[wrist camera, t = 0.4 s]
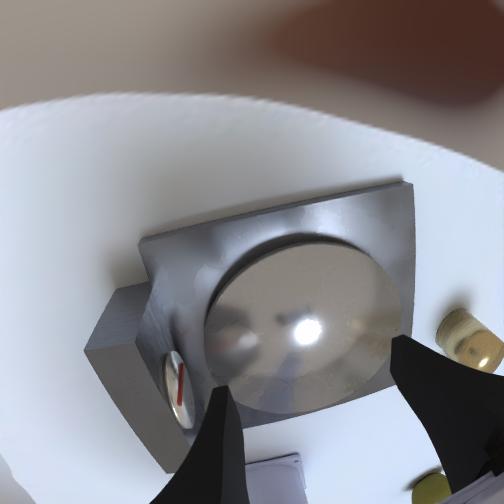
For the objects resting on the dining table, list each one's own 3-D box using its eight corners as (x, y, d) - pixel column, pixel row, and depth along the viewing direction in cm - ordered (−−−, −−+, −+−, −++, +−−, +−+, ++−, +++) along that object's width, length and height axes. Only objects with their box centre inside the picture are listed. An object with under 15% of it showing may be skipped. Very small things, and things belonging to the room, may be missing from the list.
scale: (400, 372, 27) (435, 422, 20) (183, 428, 26) (181, 490, 20) (403, 181, 20) (470, 203, 14) (100, 249, 20) (58, 299, 13)
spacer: (465, 338, 27) (498, 371, 21) (433, 353, 27) (465, 391, 21) (471, 302, 25) (510, 334, 20) (438, 317, 25) (476, 354, 20)
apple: (406, 481, 38) (421, 512, 31) (446, 460, 38) (464, 488, 31) (403, 495, 41) (416, 523, 34) (440, 476, 41) (455, 502, 34)
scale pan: (391, 376, 24) (395, 382, 24) (231, 421, 24) (232, 428, 23) (395, 220, 19) (401, 223, 19) (176, 270, 19) (175, 276, 18)
